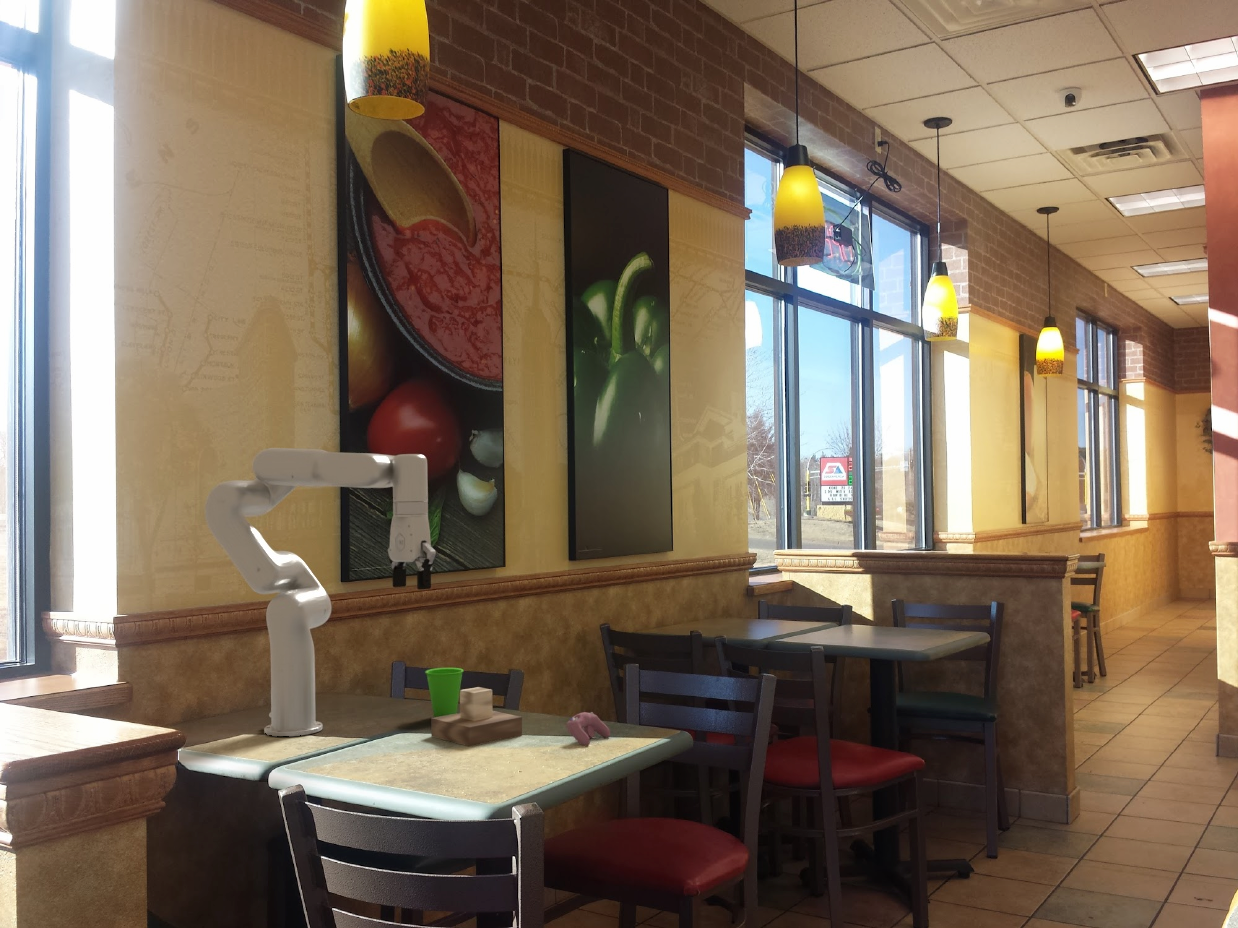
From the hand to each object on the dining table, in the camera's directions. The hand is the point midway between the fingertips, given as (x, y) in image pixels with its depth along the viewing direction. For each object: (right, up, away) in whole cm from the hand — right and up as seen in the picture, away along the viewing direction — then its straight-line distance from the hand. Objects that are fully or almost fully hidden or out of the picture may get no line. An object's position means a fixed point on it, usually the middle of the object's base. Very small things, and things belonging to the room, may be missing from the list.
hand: (411, 587), depth 243 cm
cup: (+4, -33, +18) cm, 38 cm away
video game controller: (+39, -32, -8) cm, 51 cm away
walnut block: (+15, -32, -2) cm, 35 cm away
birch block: (+15, -28, -2) cm, 32 cm away
